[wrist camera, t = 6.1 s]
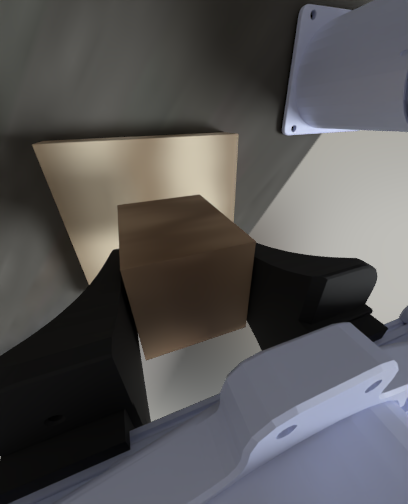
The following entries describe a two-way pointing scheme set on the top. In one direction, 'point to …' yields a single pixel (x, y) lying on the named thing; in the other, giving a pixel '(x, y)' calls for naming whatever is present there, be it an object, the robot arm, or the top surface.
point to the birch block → (132, 181)
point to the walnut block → (183, 271)
